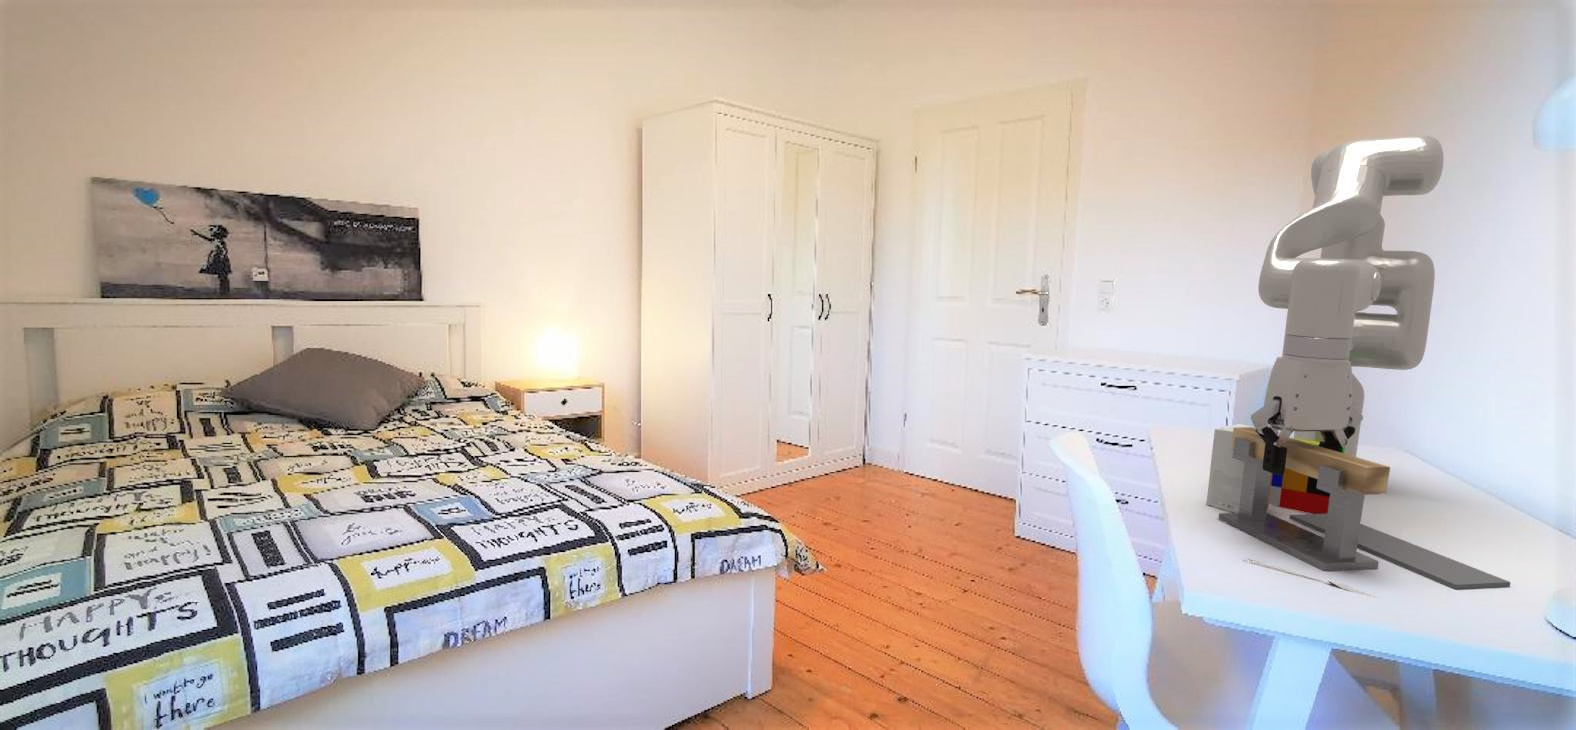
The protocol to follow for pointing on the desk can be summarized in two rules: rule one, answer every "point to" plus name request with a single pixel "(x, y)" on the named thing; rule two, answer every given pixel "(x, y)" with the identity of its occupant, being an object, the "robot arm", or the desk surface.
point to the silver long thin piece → (1309, 577)
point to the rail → (1324, 462)
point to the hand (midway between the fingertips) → (1300, 471)
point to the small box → (1226, 472)
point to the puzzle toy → (1299, 491)
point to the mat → (1413, 557)
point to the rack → (1294, 540)
